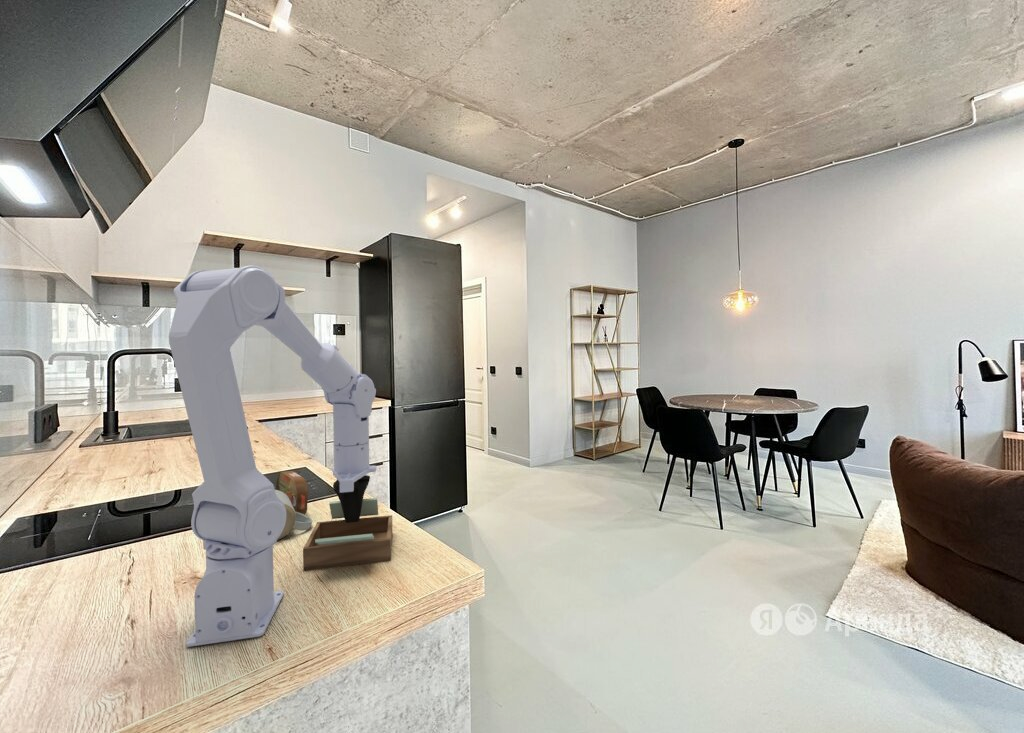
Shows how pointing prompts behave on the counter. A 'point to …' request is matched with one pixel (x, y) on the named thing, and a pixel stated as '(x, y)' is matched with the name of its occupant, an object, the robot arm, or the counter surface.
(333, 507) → the flap far
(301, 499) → the tin
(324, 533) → the crate
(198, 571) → the counter surface
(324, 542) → the flap near
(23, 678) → the counter surface
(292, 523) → the ceramic mug
